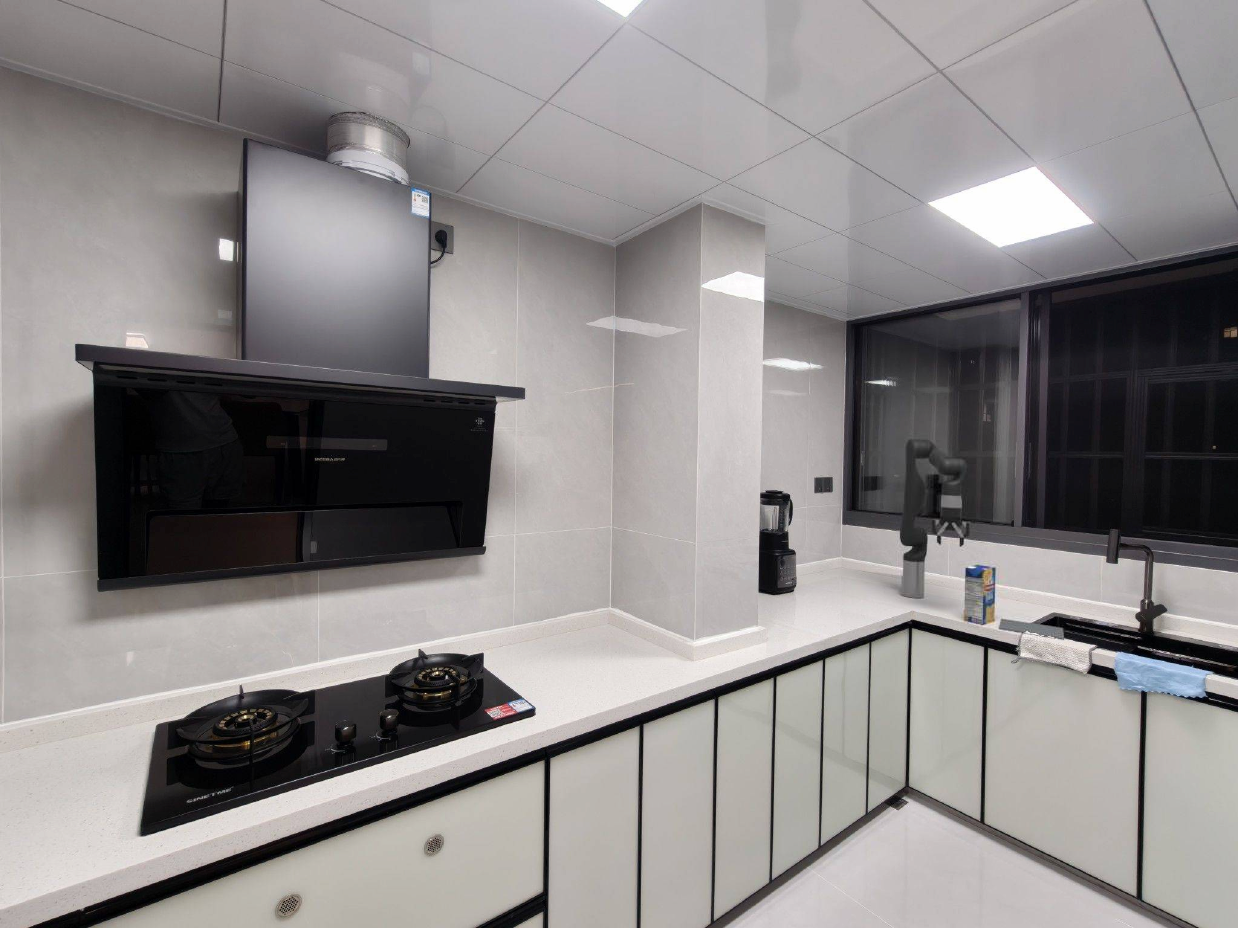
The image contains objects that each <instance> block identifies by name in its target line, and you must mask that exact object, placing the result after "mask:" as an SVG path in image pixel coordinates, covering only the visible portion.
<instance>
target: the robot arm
mask: <svg viewBox="0 0 1238 928" xmlns="http://www.w3.org/2000/svg"><path fill="white" fill-rule="evenodd" d="M905 444H906V445H905V480H904V492H903V493H904V494H903V508H902V516H901V517H902V518H901V523H900V529H899V540H900V543H901V545H903V546H904V547H911V549H910V550H908V551H906V552H904V553H903V554H902V575H901V590H900V591H901V596H903V597H907V598H912V599H924V597H925V572H926V571H925V569H926V566H925V565H926V562H925V561H926V557H927V555H928V554H927V552H928V540H929V539H928V538H929V537H928V532H927V530H926V529H925V528H924V527H921V526H915V521H916V517H917V516H918V514H919V512H920V511H921V510H922V508H923V506H924V505H925V502H926V500H927V484H926V482H925V481H924V479H923V477H922V476H921V475H920V473H919V471H918V468H917V464H916V460H918V459H919V460H922V459H923V460H925V459H926V460H927V459H928V461H929V464H930V465H932V466H933V467H934V468H936V470H937V472H938V474H940V475H942V476H953V477H952V479H951V480H947V481H946V480H945V481H943V482H942V484H941V499H940V518H939V519H935V518H934V519H932V520H931V533H932V534H933V535H936V543H937V544H938V545H939V546H941V545H942V534H943V533H944V531H952V532H953V531H954V532H955V531H956V533H957V534H958V535H959V547H960V548H961V547H963V546H964V545H965V538H968V537H969V536H970V534H971V533H970V531H971V530H970V529H971V522H970V521H963V520H962V510H963V508H962V507H963V504H962V503H963V501H962V485H963V482H964V479H965V477H966V474H967V470H968V465H967V462H966V461H965V460H964V459H963V458H952V457H951V456H950V455H948V454H947V453H946V452H944V451H941V449H939V447H937V446H936V445H935V443H934V442H933V441H931V440H929V439H925V438H924V439H922V438H920V439H918V438H911V439H908V440H907V442H906V443H905ZM938 524H940V525H941V526H942V527H941V528H940V529H939V531H937V525H938ZM962 525H963V527H964V528H965V533H963V531H962V530H961V528H960V527H961V526H962Z"/></svg>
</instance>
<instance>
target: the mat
mask: <svg viewBox="0 0 1238 928" xmlns="http://www.w3.org/2000/svg"><path fill="white" fill-rule="evenodd" d="M998 630H1001V631H1002V630H1003V631H1007V630H1008V632H1013V631H1014V633H1020V632H1026V631H1028V632H1030V633H1037V634H1039V635H1044V636H1051V637H1054V638H1053V639H1056V638H1058V639H1057V640H1062V639H1063V640H1062V641H1064V640H1065V636H1064V635H1065V634H1064V628H1063V627H1060V626H1059V627H1058V626H1052V625H1045V624H1038V623H1032V622H1025V621H1019V620H1013V619H1006V618H1000V622H999V625H998ZM1044 636H1043V637H1044Z"/></svg>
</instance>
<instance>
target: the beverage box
mask: <svg viewBox="0 0 1238 928" xmlns="http://www.w3.org/2000/svg"><path fill="white" fill-rule="evenodd" d="M996 570H997V569H996V567H993V566H989V565H982V564H975V565H969V566H966V567H965V570H964V571H965V572H964V573H965V574H964V579H965V580H964V610H963V611H964V613H963V614H964V616H963V620H964V622H966V621H967V623H971V624H976V625H979V624H980V626H984V625H988V624H990V623H992V622H995V615H996V614H995V611H996V610H995V608H996V607H995V605H996V574H997V573H996V572H997V571H996Z"/></svg>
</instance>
